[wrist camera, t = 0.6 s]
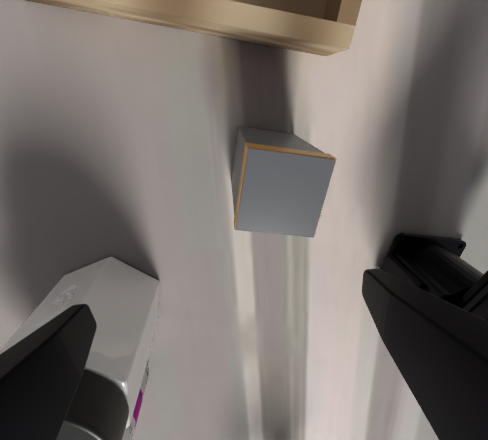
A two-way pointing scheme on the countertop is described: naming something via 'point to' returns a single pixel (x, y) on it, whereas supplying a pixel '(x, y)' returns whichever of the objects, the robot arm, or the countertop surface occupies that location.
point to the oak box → (242, 19)
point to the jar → (104, 344)
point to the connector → (278, 183)
